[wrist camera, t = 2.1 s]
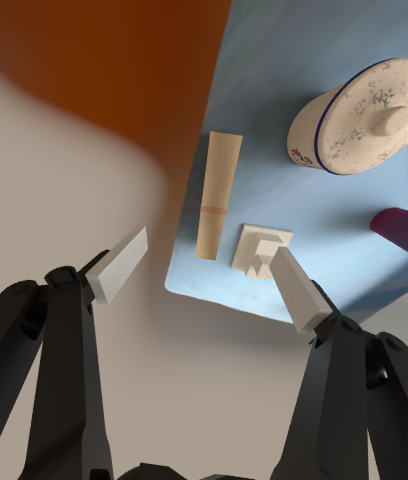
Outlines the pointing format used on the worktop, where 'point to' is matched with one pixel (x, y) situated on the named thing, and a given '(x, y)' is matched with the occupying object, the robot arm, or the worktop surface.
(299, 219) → the worktop surface
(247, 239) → the fulcrum
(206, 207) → the beam
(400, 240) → the cup
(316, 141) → the teacup with lid
